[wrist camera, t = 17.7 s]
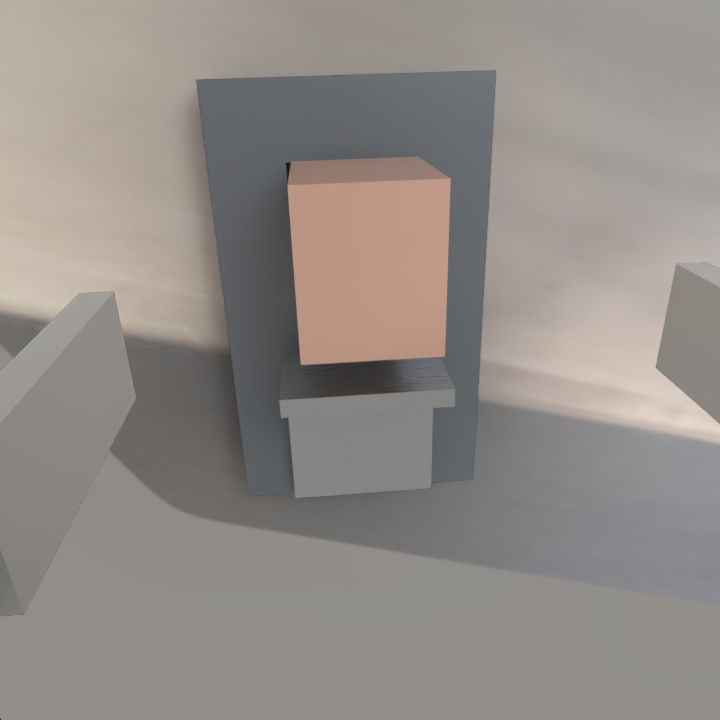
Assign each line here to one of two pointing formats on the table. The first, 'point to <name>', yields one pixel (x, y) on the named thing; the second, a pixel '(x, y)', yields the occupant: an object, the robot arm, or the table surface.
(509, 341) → the table surface
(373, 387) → the shutter
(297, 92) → the socket block
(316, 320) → the plug
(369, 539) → the table surface
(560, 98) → the table surface
